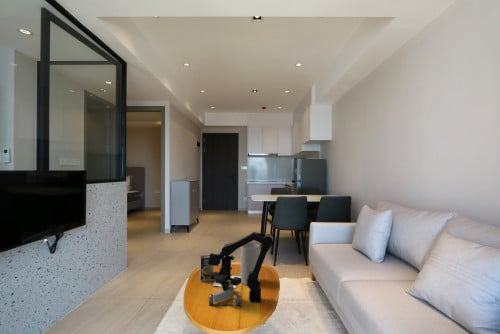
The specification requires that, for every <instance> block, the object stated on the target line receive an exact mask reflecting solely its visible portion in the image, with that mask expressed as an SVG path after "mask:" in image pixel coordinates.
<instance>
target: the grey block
mask: <svg viewBox="0 0 500 334" xmlns="http://www.w3.org/2000/svg"><path fill="white" fill-rule="evenodd" d="M233 295H234V292H233V289H229V290H226V291H223V290H222V291H220V292H217V293H213V304H218V303H219V302H222V301H226V300H229V299H231V298H233Z"/></svg>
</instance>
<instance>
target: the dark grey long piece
mask: <svg viewBox="0 0 500 334" xmlns="http://www.w3.org/2000/svg"><path fill="white" fill-rule="evenodd" d="M241 296H242V295H241V294H236V297H235V298H236V299H233V300H232V303H214V293H213V294H210V293H209V295H208V306H209V307H232V308H233V309H234V308H235V309H236V308H238V307H241V304H242V303H241V302H242V301H241V298H242V297H241Z"/></svg>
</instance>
